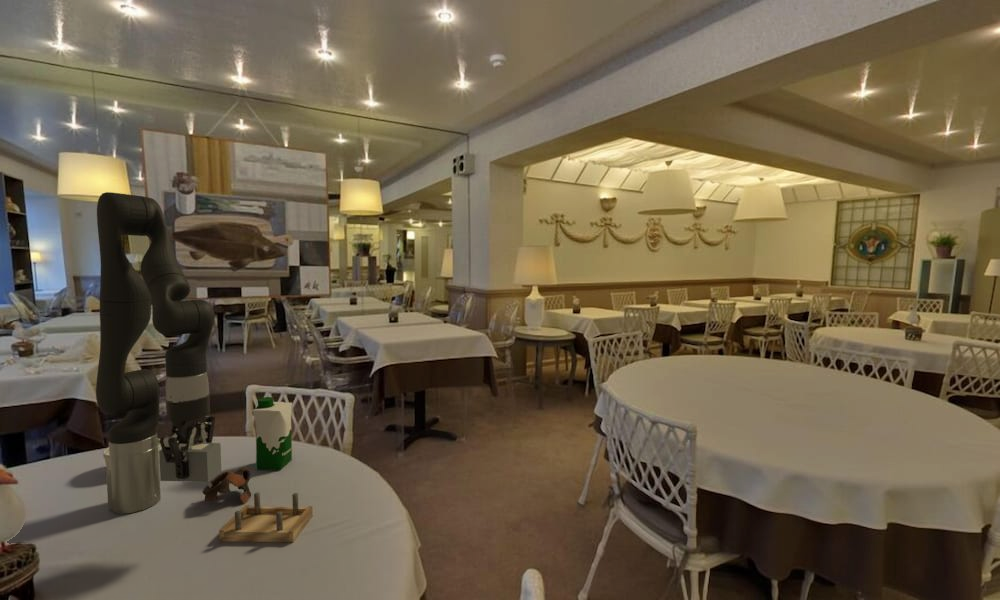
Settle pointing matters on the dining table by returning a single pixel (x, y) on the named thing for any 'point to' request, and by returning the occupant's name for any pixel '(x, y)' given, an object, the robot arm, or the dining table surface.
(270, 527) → the pin tray
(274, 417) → the milk carton
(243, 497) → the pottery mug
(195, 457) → the block
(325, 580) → the dining table surface
